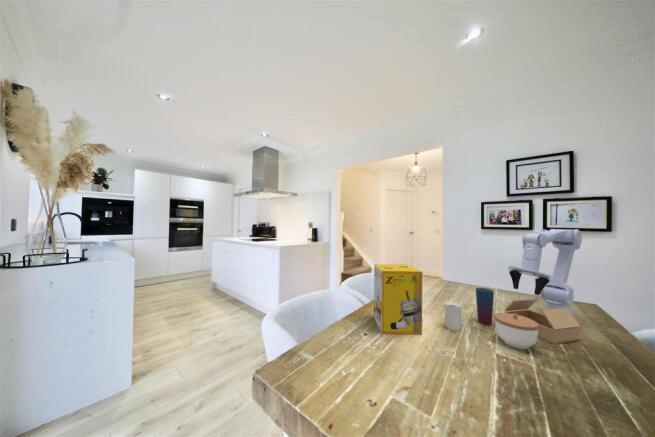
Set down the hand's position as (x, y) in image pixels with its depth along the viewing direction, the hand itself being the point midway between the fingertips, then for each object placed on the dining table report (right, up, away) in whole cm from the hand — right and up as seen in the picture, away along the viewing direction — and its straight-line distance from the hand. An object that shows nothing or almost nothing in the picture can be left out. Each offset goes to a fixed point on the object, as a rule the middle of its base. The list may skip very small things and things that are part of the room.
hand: (526, 291), depth 94 cm
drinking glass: (-30, -16, +1) cm, 34 cm away
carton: (+5, -16, -1) cm, 17 cm away
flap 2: (+7, -8, -7) cm, 13 cm away
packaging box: (-54, -16, +3) cm, 57 cm away
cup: (-13, -16, +6) cm, 22 cm away
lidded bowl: (-14, -16, -11) cm, 24 cm away
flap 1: (+4, -8, +6) cm, 11 cm away
